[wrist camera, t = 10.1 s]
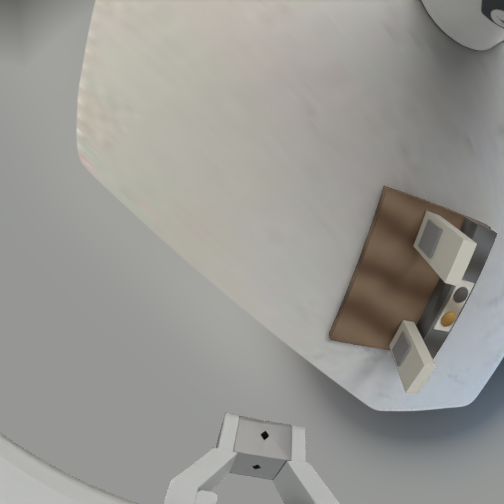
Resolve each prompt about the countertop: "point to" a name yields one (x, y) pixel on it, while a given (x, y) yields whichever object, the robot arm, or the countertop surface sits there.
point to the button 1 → (411, 357)
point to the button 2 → (444, 248)
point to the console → (406, 277)
